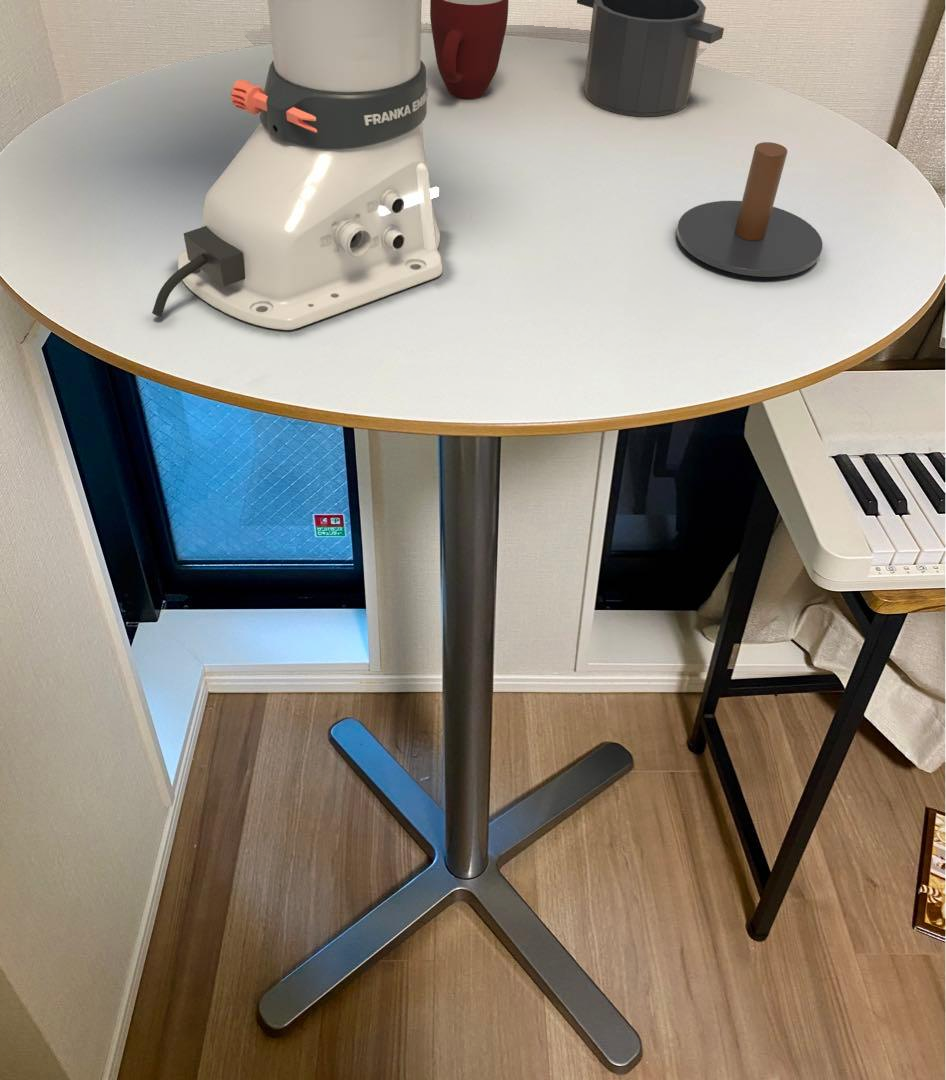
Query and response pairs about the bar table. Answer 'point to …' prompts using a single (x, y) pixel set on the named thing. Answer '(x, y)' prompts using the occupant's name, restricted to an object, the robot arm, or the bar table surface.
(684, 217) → the pot lid
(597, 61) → the dark grey pot
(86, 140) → the bar table surface
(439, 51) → the mug
